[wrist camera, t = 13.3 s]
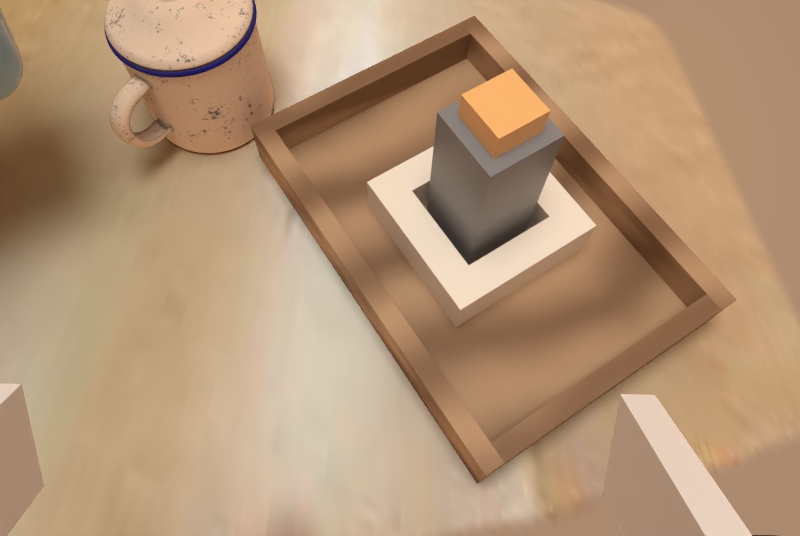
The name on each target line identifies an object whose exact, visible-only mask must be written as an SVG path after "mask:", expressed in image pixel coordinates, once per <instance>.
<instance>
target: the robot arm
mask: <svg viewBox="0 0 800 536" xmlns="http://www.w3.org/2000/svg"><path fill="white" fill-rule="evenodd" d="M22 75H23V62H22V58H21V55H20V52H19V50H18V47H17V45H16V42H15V40H14V38H13V35H12V33H11V31H10V28H9V26H8V24H7V22H6V20H5V17H4V15H3V13H2V11H1V9H0V100H2V99H4V98H6V97H8V96H9V95H10V94H11V93H12V92H13V91H14V90H15V89H16V88H17V86H18V84H19V82H20V80H21V78H22ZM43 487H44V485H43V480H42V476H41V471H40V467H39V462H38V457H37V453H36V448H35V444H34V439H33V435H32V430H31V426H30V421H29V417H28V412H27V408H26V403H25V398H24V394H23V389H22V385H21V384H0V536H7V535H8V533H9V532H10V531H11V529H12V528H13V527H14V525H15V524H16V523H17V521H18V520H19V519H20V517H21V516H22V515H23V513H24V512H25V511H26V509H27V508H28V507H29V505H30V504H31V503H32V501H33V500H34V499H35V497H36V496H37V495H38V493H39V492H40V491H41V489H42V488H43ZM603 496H604V498H605V500H606V503H607V505H608V507H609V509H610V512H611V514H612V516H613V518H614V521H615V523H616V525H617V528H618V530H619V532H620V535H621V536H770V535H751V533H750V532H749V530H748V529H747V528H746V526H745V525H744V523H743V522H742V520H741V519H740V517H739V516H738V515H737V513H736V512H735V510H734V509H733V507H732V506H731V504H730V503H729V501H728V500H727V499H726V497H725V496H724V494H723V493H722V491H721V490H720V489H719V487H718V486H717V484H716V483H715V481H714V480H713V478H712V477H711V475H710V474H709V473H708V471H707V470H706V468H705V467H704V465H703V464H702V462H701V461H700V460H699V458H698V457H697V455H696V454H695V452H694V451H693V449H692V448H691V447H690V445H689V444H688V442H687V441H686V439H685V438H684V436H683V435H682V433H681V432H680V431H679V429H678V428H677V426H676V425H675V423H674V422H673V420H672V419H671V418H670V416H669V415H668V413H667V412H666V410H665V409H664V407H663V406H662V405H661V403H660V402H659V400H658V399H657V397H656V396H655V395H630V394H620V400H619V405H618V411H617V417H616V423H615V428H614V434H613V440H612V445H611V451H610V457H609V462H608V468H607V474H606V480H605V485H604V491H603ZM773 536H774V535H773Z"/></svg>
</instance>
